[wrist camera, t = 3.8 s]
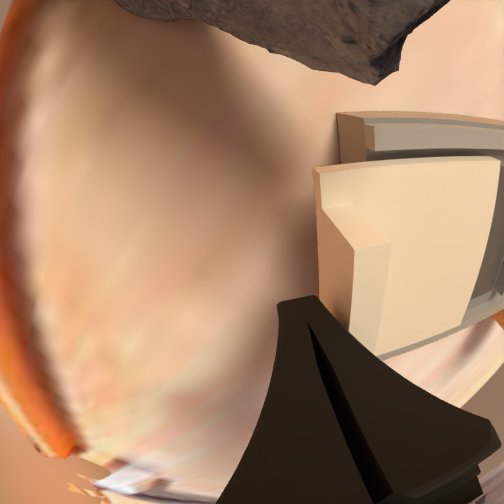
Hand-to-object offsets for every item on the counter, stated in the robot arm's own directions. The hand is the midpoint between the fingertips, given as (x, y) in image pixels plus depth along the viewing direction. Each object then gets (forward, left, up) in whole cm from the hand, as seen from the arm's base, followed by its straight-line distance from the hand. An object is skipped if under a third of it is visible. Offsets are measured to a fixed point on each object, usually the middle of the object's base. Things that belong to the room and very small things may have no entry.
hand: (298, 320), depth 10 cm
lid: (0, -5, -2) cm, 6 cm away
